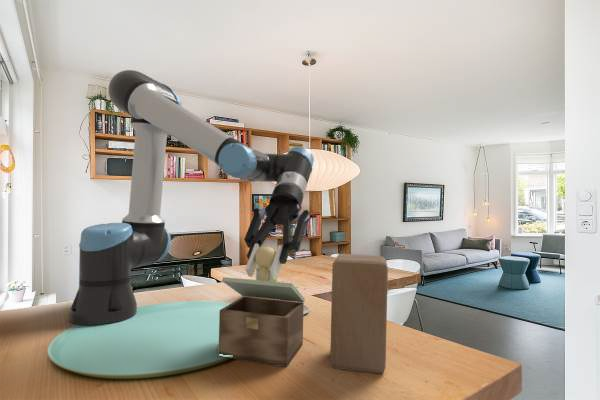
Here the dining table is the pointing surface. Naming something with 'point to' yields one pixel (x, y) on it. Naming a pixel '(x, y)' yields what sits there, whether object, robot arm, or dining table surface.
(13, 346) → the dining table surface
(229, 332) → the box
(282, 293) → the lid
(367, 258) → the block
